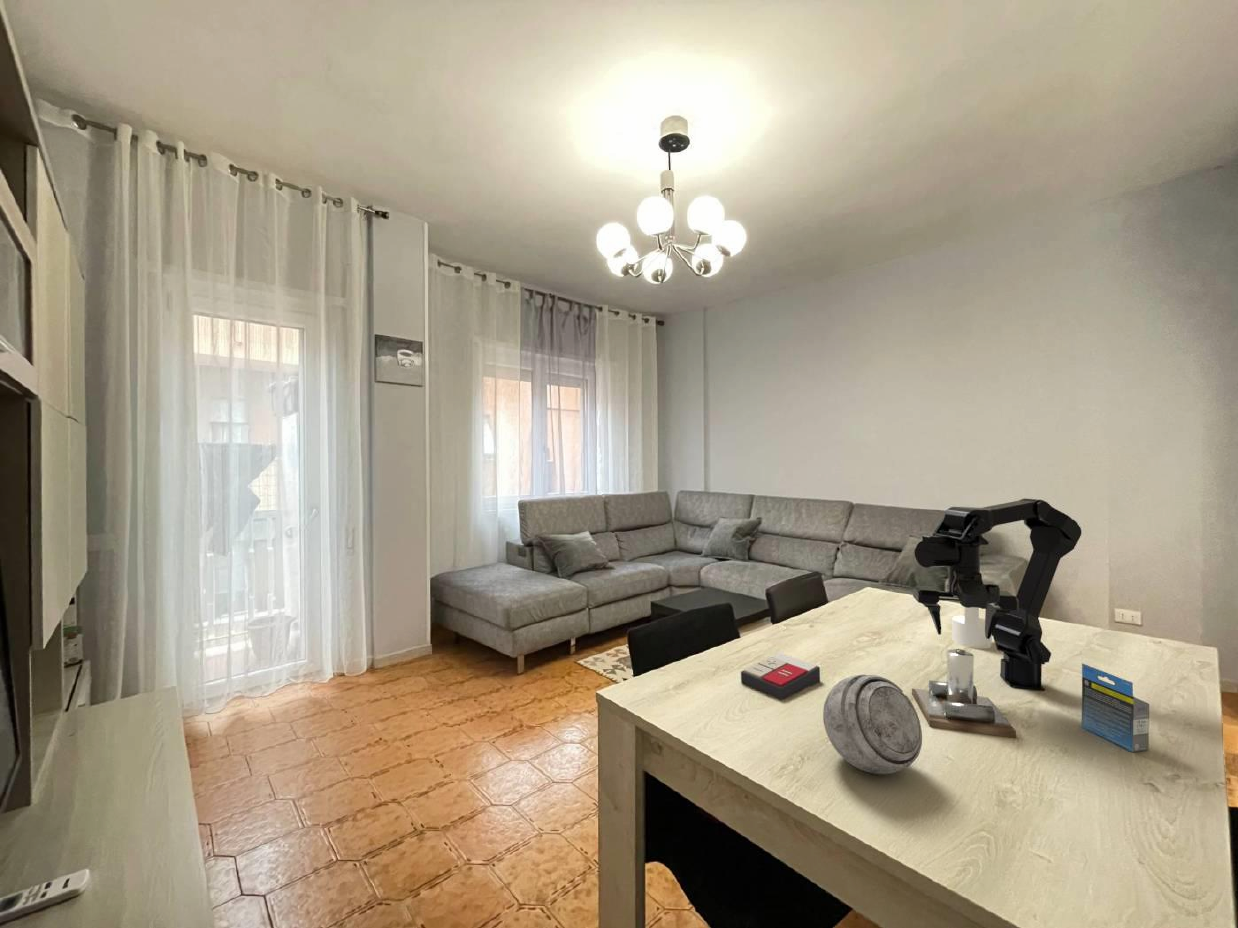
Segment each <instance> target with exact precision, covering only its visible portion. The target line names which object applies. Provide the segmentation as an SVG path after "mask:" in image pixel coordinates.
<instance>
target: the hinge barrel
mask: <svg viewBox="0 0 1238 928" xmlns="http://www.w3.org/2000/svg"><path fill="white" fill-rule="evenodd" d="M946 651H947V652H946V653H947V655H946V682H947V701H951V702H959V703H968V704H973V685H974V660H975V659H974V658H975V657H974V656H975V655H974V654H973V653H971V652H969V651H966V650H964V649H961V648H955V649H954V648H953V649H948V650H946Z"/></svg>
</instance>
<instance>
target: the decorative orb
mask: <svg viewBox="0 0 1238 928" xmlns="http://www.w3.org/2000/svg"><path fill="white" fill-rule="evenodd" d="M822 719H823V725H824V726H823V727H824V730H825V733H826V736H827V738H828V740H829V741H830V744H831V745H832V746H833V747H832V748H833V749H834V750H835V751H836V752H837V753H838V755H840V757H842V758H843V760H845V761H846V762H847V763H848V764H850V765H852V766H853V767H855V768H857V769H859V770H861V771H864V772H867V773H870V774H876V775H889V774H894V773H897V772H900V771H902V770H905V769H907V768H909V767H910V766H911V765H912V764H914V762H915V761H916V760H917V758H918V757H919V755H920V753H921V749H922V745H923V730H922V725H921V721H920V718H919V715H918V712H917V711H916V708H915V707H914V704H913V702H912V701H911V699H910V697H908V695H906V694H904V691H903V689H902V688H901V687H899V685H897V684H896V683H894V682H893V681H891V680H890V679H887V678H885V677H882V676H881V675H876V674H856V675H851V676H848V677H845V678H843V679H841V680H839V682H837V683H836V684H835V685H834V686H833V687H832V688H831V689H830V691H829V692H828V694H827V696H826V698H825V701H824V704H823V710H822Z"/></svg>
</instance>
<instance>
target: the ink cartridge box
mask: <svg viewBox="0 0 1238 928" xmlns="http://www.w3.org/2000/svg"><path fill="white" fill-rule="evenodd" d="M1099 677H1100V678H1107V679H1108V680H1109V681H1110V682H1113V683H1114V684H1112V683H1110V682H1107V681H1105V680H1102V679H1100V678H1099ZM1133 686H1134V684H1133V682H1132V681H1128V680H1126V679H1125V678H1124V679H1123V678H1121V677H1119V676H1117V675H1114V674H1111V673H1109V672H1106V671H1103V670H1100V669H1097V668H1095V667H1092V666H1090V665H1088V664H1084V663H1081V728H1082V729H1085V730H1087V731H1089V732H1090V733H1093V734H1095V735H1096V736H1098V737H1101V738H1103V739H1106V740H1108V741H1110V742H1112V743H1114V744H1116V745H1118V746H1119V747H1122V748H1124V749H1125V750H1127V751H1128V752H1131V753H1138V752H1145V751H1149V745H1150V744H1149V742H1150V737H1149V736H1150V703H1148V702H1146V701H1144V700H1142V699H1140V698H1137V697H1135V696H1134V690H1133Z"/></svg>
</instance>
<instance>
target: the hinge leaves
mask: <svg viewBox="0 0 1238 928" xmlns="http://www.w3.org/2000/svg"><path fill="white" fill-rule="evenodd" d="M914 689H915V692H916V694H917V696H918V697H919V699H920V701H921V703H922V705H923V706H924V708H925V710H926V712H927V713H928V715H929V717H936V718H944V719H948V718H952V719H960V720H968V721H976V722H984V723H990V724H991V725H998V726H1006V727H1011V726H1012V724H1011V722H1009V721H1010V720H1008V719H1007V718H1006V717H1005V715H1004V714H1003V713H1002V712H1001V711H1000V709H999V708H998V707H997V706H996V705H995V703H993V701H992V700H991V699H990V698H989V697H988V696H986V697H985V696H981V697H980V696H979V695H978V691H977V688H976V686H975V685H974V684H973V702H974V704H968V703H959V702H951V701H942V705H941V704H940V702H939V701H938V699H937V698H936V696H937V697H946V698H947V681H938V680H928V689H918V688H914ZM928 690H929V691H928Z"/></svg>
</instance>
